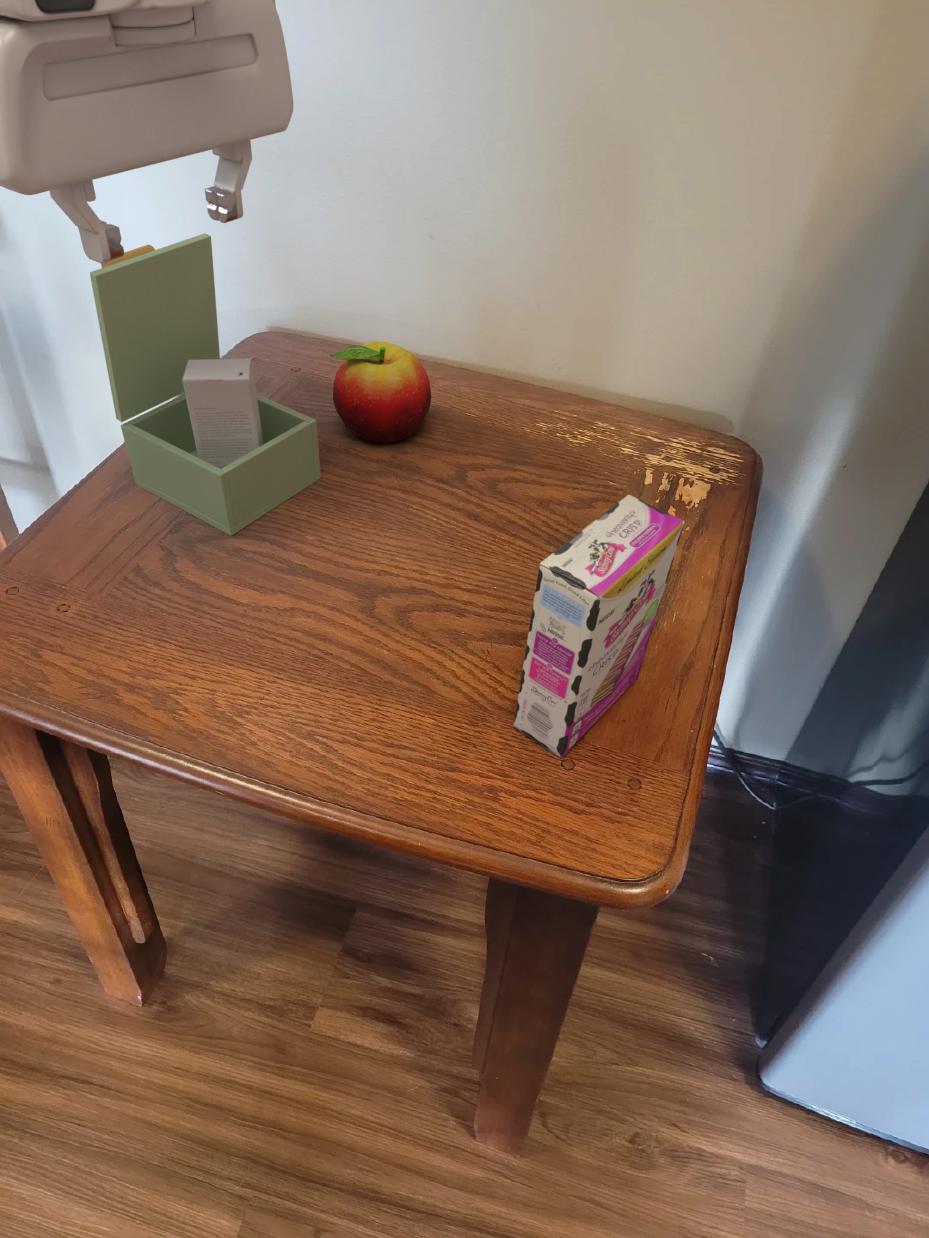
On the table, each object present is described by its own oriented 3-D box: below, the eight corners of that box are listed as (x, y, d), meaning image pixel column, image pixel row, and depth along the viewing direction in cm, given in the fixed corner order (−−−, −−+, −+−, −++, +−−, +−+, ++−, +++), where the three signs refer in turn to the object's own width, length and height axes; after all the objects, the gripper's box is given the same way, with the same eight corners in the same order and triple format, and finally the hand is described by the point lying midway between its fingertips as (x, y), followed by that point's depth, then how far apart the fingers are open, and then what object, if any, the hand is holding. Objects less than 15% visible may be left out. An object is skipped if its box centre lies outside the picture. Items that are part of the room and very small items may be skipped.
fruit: (439, 451, 93) (442, 366, 86) (340, 459, 91) (335, 373, 84) (420, 402, 101) (421, 320, 94) (328, 409, 98) (323, 326, 92)
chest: (321, 478, 88) (316, 420, 83) (231, 536, 80) (220, 475, 76) (228, 434, 93) (219, 377, 89) (135, 484, 86) (120, 425, 81)
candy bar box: (564, 763, 63) (600, 598, 51) (510, 728, 65) (533, 562, 54) (642, 681, 69) (689, 518, 58) (591, 651, 71) (626, 489, 60)
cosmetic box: (267, 466, 88) (253, 357, 80) (265, 489, 85) (250, 379, 77) (207, 467, 87) (186, 358, 79) (203, 491, 84) (181, 380, 76)
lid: (211, 236, 78) (176, 218, 79) (95, 276, 70) (59, 255, 72) (221, 374, 88) (190, 356, 90) (121, 422, 81) (89, 402, 82)
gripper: (229, -61, 51) (254, 188, 60) (-112, -43, 38) (-12, 269, 47) (308, -47, 48) (321, 210, 58) (-28, -24, 36) (60, 301, 45)
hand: (169, 237), depth 52 cm, fingers open, 8 cm apart
